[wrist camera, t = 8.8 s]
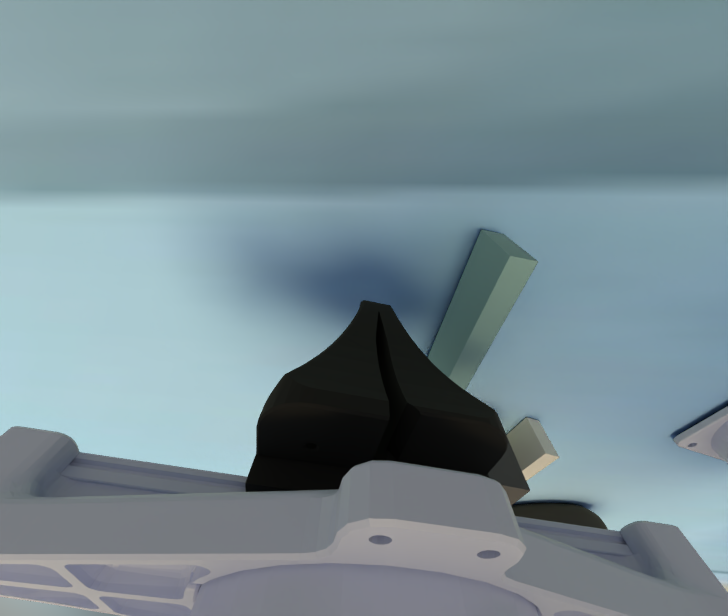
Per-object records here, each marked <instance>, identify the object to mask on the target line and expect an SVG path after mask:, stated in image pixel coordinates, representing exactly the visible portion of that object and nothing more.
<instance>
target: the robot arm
mask: <svg viewBox="0 0 728 616" xmlns="http://www.w3.org/2000/svg"><path fill="white" fill-rule="evenodd" d="M673 441H674V442H675V443H676V444H677V445H678V446H679V447H682V448H685V449H689V450H692V451H695V452H698V453H701V454H704V455H708V456H711V457H714V458H717V459H720V460H723V461H725V462H727V463H728V406H727V407H725V408H723V409H722V410H720V411H718V412H717V413H715V414H713V415H712V416H710V417H708V418H706V419H705V420H703V421H701V422H700V423H698V424H696V425H694V426H693V427H691V428H689V429H688V430H686V431H684V432H683V433H681V434H679V435H677V436H676V437H675V438H674V439H673ZM507 446H508V441H507V438H506V435H505V433H504V430H503V428H502V425H501V423H500V421H499V418H498V416H497V414H496V412H495V410H494V409H492V408H491V407H489V406H488V405H486V404H484V403H483V402H481V401H480V400H478V399H477V398H475V397H474V396H472V395H471V394H469V393H468V392H466V391H465V390H464V389H462V388H461V387H460V386H458V385H457V384H456V383H454V382H453V381H452V380H451V379H450V378H448V377H447V376H446V375H445V374H444V373H443V372H442V371H440V370H439V369H438V368H437V367H436V366H435V365H434V364H433V363H432V362H431V361H430V360H429V359H428V358H427V357H426V356H425V355H424V354H423V352H422V351H421V350H420V349H419V348H418V347H417V345H416V344H415V343H414V341H413V340H412V339H411V338H410V336H409V335H408V333H407V332H406V330H405V329H404V327H403V326H402V324H401V323H400V321H399V319H398V318H397V316H396V314H395V313H394V311H393V309H392V308H391V306H390V305H385V304H380V303H375V302H370V301H365V300H363V301H361V303H360V308H359V310H358V312H357V314H356V316H355V317H354V319H353V320H352V322H351V323H350V325H349V326H348V327H347V328H346V330H345V331H344V332H343V333H342V334H341V335H340V337H339V338H338V339H337V340H336V341H335V342H334V343H333V344H331V345H330V346H329V347H328V348H327V349H326V350H324V351H323V352H322V353H320V354H319V355H318V356H316V357H315V358H313V359H312V360H310V361H309V362H307V363H306V364H304V365H302V366H300V367H298V368H296V369H294V370H292V371H290V372H289V373H286V374H285V375H284V376H283V377H282V379H281V380H280V381H279V383H278V384H277V385H276V387H275V388H274V390H273V391H272V393H271V394H270V396H269V398H268V399H267V401H266V403H265V405H264V407H263V410H262V412H261V414H260V417H259V419H258V423H257V448H256V456H255V459H254V461H253V464H252V467H251V469H250V472H249V475H248V477H245V476H239V475H232V474H225V473H218V472H211V471H205V470H198V469H191V468H184V467H177V466H171V465H164V464H157V463H150V462H143V461H136V460H130V459H123V458H116V457H109V456H102V455H96V454H89V453H82V452H79V449H78V446H77V444H76V442H75V441H74V440H73V439H72V438H71V437H69V436H67V435H65V434H62V433H59V432H54V431H47V430H40V429H34V428H27V427H21V426H15V427H11V428H10V429H9V430H8V431H6V432H5V433H4V434H3V435H1V436H0V597H7V598H14V599H22V600H30V601H35V602H42V603H49V604H54V605H61V606H67V607H73V608H79V609H85V610H91V611H96V612H102V613H108V614H114V615H120V616H728V592H727V591H726V590H725V588H724V587H723V586H722V584H721V583H720V582H719V580H718V579H717V578H716V577H715V575H714V574H713V573H712V571H711V570H710V569H709V567H708V566H707V565H706V563H705V562H704V561H703V560H702V558H701V557H700V556H699V554H698V553H697V552H696V550H695V549H694V548H693V546H692V545H691V544H690V543H689V541H688V540H687V539H686V537H685V536H684V535H683V533H682V532H681V531H680V529H679V528H678V527H676V526H674V525H669V524H662V523H655V522H649V521H637V522H633V523H630V524H628V525H626V526H625V527H623V528H622V529H621V530H620V531H614V530H607V529H600V528H593V527H586V526H579V525H573V524H566V523H559V522H552V521H545V520H539V519H532V518H525V517H518V516H515V515H514V512H513V509H512V506H511V504H510V501H509V498H508V495H507V493H506V491H505V490H504V488H503V487H502V486H501V484H500V483H499V482H497V481H496V480H494V479H491V478H489V475H488V473H489V472H490V470H491V469H492V468H493V467H494V466H495V465H496V464H497V462H498V461H499V460H500V459H501V458H502V456H503V455H504V453H505V452H506V450H507Z"/></svg>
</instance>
